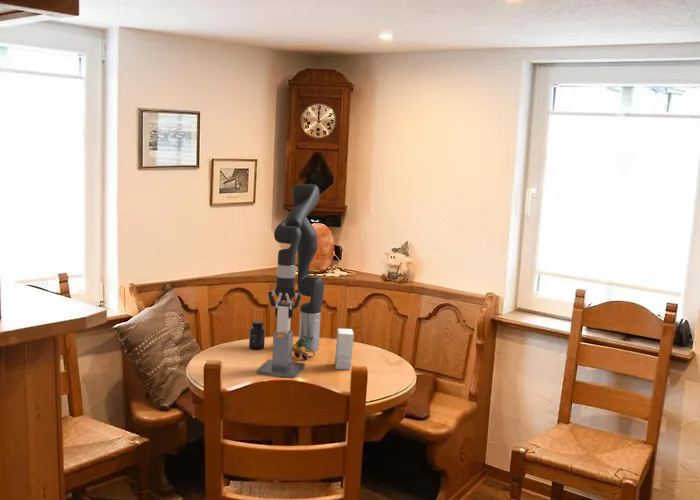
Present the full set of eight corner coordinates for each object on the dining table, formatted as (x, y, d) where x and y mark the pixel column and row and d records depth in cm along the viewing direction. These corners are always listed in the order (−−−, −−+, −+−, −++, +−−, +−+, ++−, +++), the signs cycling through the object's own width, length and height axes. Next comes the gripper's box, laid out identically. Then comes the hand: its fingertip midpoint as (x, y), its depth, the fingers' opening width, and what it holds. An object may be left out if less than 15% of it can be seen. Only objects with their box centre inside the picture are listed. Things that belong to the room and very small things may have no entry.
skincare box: (334, 363, 304) (336, 327, 301) (350, 364, 304) (352, 328, 302) (336, 369, 295) (338, 333, 293) (351, 370, 296) (354, 333, 294)
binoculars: (294, 360, 311) (287, 344, 306) (306, 346, 317) (299, 330, 311) (310, 365, 306) (303, 349, 300) (323, 351, 311) (316, 334, 306)
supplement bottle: (245, 348, 318) (246, 322, 316) (255, 345, 324) (256, 319, 322) (257, 351, 315) (258, 324, 313) (267, 348, 320) (268, 322, 319)
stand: (268, 362, 299) (269, 325, 297) (305, 366, 296) (307, 329, 294) (256, 374, 283) (258, 335, 281) (295, 378, 281) (297, 339, 278)
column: (278, 351, 291) (280, 301, 288) (289, 353, 291) (291, 302, 288) (275, 354, 287) (277, 303, 284) (286, 356, 286) (288, 305, 283)
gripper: (305, 275, 287) (303, 317, 289) (271, 272, 289) (269, 313, 292) (301, 278, 279) (298, 321, 282) (265, 275, 282) (264, 317, 284)
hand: (284, 317), depth 287 cm, fingers closed on column, 4 cm apart
